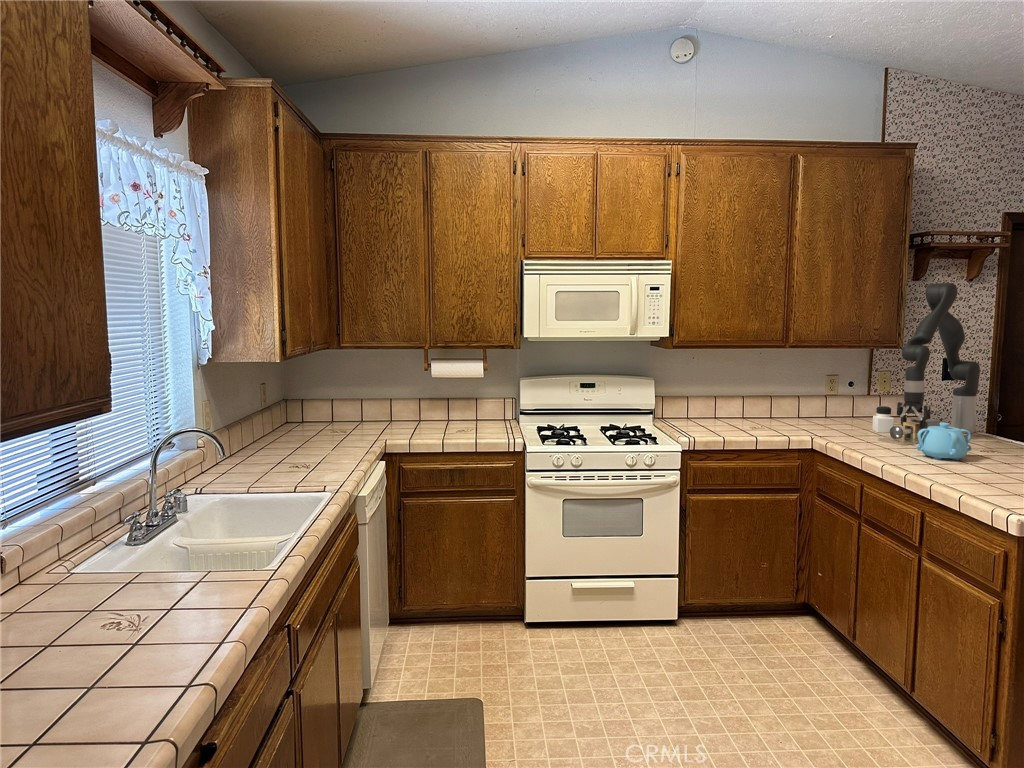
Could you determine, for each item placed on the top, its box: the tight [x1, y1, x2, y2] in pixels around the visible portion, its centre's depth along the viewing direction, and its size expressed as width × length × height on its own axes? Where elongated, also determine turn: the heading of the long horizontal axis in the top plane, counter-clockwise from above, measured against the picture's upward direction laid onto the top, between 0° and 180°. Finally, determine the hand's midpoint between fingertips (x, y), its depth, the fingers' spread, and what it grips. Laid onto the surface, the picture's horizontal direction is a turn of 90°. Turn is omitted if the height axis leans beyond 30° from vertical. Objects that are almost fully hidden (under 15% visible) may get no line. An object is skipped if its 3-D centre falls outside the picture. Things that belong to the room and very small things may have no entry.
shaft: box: [889, 425, 923, 439], centre depth 293 cm, size 18×6×6 cm, turn 112°
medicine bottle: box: [872, 405, 895, 434], centre depth 315 cm, size 7×7×12 cm
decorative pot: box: [915, 422, 972, 461], centre depth 259 cm, size 16×16×14 cm
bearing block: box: [877, 417, 941, 446], centre depth 293 cm, size 26×12×9 cm, turn 111°
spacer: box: [902, 421, 921, 439], centre depth 293 cm, size 4×6×7 cm
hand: (912, 427), depth 293 cm, fingers open, 8 cm apart
